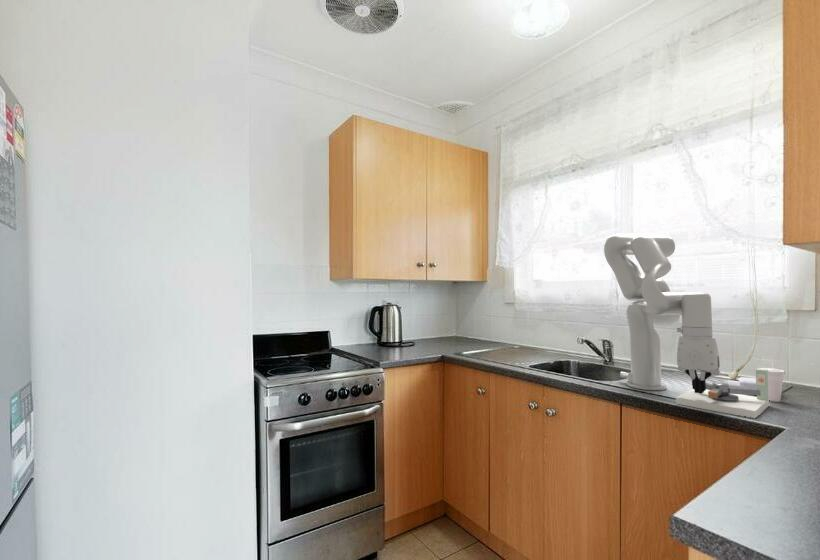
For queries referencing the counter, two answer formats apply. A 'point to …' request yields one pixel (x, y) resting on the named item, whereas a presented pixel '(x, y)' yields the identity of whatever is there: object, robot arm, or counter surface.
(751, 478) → the counter surface
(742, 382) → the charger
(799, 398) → the counter surface
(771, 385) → the smoothie
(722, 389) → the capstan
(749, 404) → the stand
